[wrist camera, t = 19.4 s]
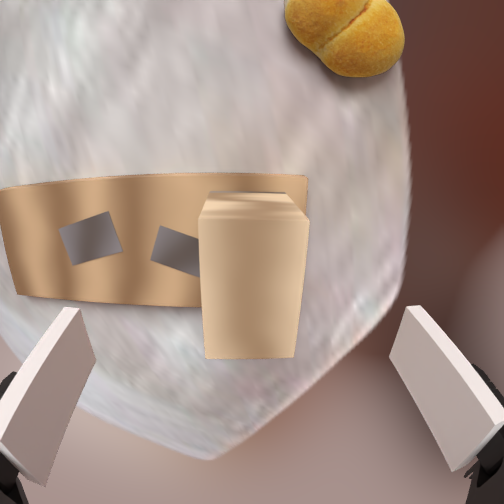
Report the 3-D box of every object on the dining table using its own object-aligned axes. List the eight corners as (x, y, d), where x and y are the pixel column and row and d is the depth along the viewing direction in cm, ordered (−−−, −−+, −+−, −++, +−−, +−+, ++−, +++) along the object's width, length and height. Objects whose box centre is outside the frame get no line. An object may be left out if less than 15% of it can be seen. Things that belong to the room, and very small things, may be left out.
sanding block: (211, 297, 23) (205, 358, 16) (209, 191, 20) (198, 219, 13) (277, 297, 23) (293, 357, 17) (285, 192, 20) (309, 220, 14)
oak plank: (25, 287, 24) (16, 294, 22) (5, 187, 20) (-5, 191, 18) (293, 298, 25) (296, 307, 23) (303, 175, 21) (308, 178, 20)
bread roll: (354, 99, 19) (377, 93, 16) (263, 20, 17) (269, -2, 13) (412, 41, 17) (438, 31, 14) (331, -32, 15) (346, -55, 11)
